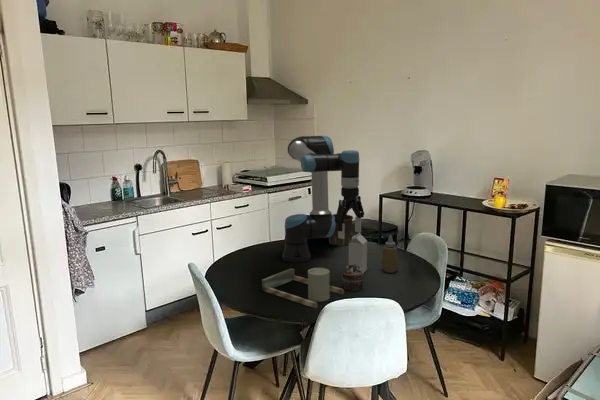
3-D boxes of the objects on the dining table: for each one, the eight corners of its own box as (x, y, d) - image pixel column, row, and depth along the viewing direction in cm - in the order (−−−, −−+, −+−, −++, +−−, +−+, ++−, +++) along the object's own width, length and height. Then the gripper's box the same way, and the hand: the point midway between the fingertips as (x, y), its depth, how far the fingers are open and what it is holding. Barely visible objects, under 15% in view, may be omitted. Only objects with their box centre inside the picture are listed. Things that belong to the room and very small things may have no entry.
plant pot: (358, 244, 266) (358, 217, 263) (336, 248, 258) (336, 221, 255) (342, 238, 280) (342, 212, 277) (320, 242, 272) (320, 216, 269)
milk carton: (366, 270, 222) (367, 232, 218) (362, 274, 215) (362, 236, 212) (353, 268, 225) (353, 231, 221) (348, 272, 218) (348, 234, 215)
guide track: (262, 290, 197) (261, 279, 197) (291, 278, 212) (291, 268, 211) (315, 308, 178) (315, 296, 177) (343, 293, 193) (343, 282, 192)
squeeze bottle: (398, 274, 215) (399, 237, 212) (381, 273, 217) (381, 237, 213) (398, 268, 223) (399, 233, 220) (381, 267, 225) (382, 232, 221)
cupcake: (337, 286, 201) (337, 264, 199) (355, 282, 206) (355, 261, 204) (350, 293, 193) (350, 271, 191) (368, 288, 198) (368, 267, 196)
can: (306, 293, 193) (306, 266, 191) (328, 292, 194) (328, 266, 192) (309, 302, 184) (308, 274, 182) (331, 301, 185) (331, 273, 183)
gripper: (341, 191, 181) (341, 242, 185) (372, 184, 200) (371, 230, 204) (326, 189, 185) (326, 239, 189) (357, 182, 205) (357, 228, 208)
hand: (349, 235), depth 197 cm, fingers open, 13 cm apart
